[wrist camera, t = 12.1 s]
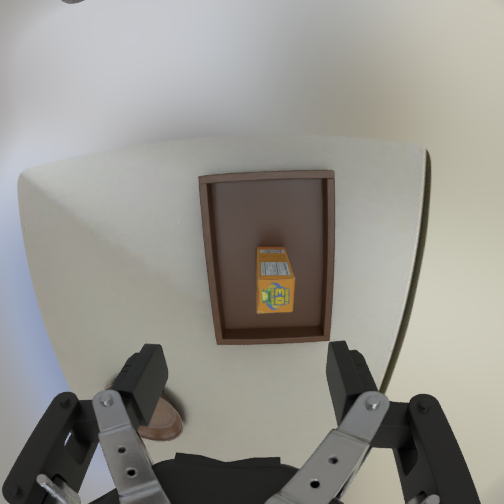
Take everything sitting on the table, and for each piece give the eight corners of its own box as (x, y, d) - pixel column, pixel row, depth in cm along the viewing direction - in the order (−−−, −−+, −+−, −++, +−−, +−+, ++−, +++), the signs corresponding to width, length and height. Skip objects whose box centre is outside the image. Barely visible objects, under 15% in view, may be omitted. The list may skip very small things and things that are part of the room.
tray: (204, 175, 31) (198, 176, 28) (328, 169, 30) (334, 170, 27) (220, 331, 37) (216, 344, 34) (325, 327, 36) (329, 340, 33)
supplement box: (286, 273, 33) (293, 316, 24) (256, 272, 33) (252, 315, 24) (287, 245, 32) (295, 279, 23) (256, 244, 33) (252, 278, 23)
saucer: (93, 386, 42) (87, 396, 40) (143, 362, 39) (137, 373, 37) (148, 436, 45) (144, 446, 43) (204, 420, 42) (201, 432, 40)
